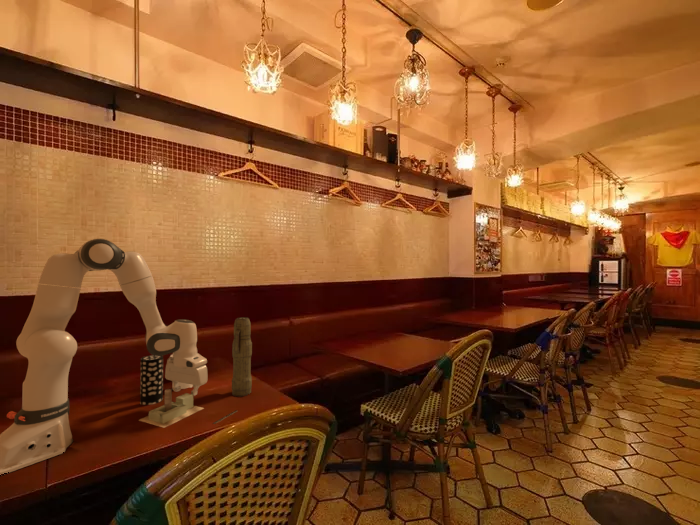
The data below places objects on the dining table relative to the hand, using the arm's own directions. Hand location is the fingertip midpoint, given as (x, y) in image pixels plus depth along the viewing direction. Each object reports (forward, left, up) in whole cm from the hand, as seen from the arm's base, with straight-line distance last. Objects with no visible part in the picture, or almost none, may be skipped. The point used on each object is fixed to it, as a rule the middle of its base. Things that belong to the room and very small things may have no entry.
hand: (185, 392), depth 138 cm
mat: (+3, -14, -8) cm, 16 cm away
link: (-6, 0, -6) cm, 8 cm away
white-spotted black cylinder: (-1, +19, -8) cm, 21 cm away
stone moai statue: (+25, -7, -8) cm, 27 cm away
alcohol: (+17, +22, -8) cm, 29 cm away
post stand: (-6, 0, -8) cm, 10 cm away
